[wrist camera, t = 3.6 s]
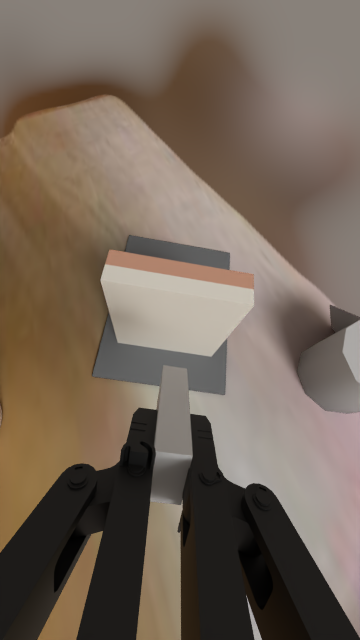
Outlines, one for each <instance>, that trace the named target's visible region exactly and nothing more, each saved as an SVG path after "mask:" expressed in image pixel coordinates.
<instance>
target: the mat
mask: <svg viewBox="0 0 360 640" xmlns="http://www.w3.org/2000/svg"><path fill="white" fill-rule="evenodd" d="M125 252H128V253H134V254H139V255H145V256H151V257H157V258H162V259H168V260H174V261H180V262H185V263H191V264H197V265H203V266H208V267H214V268H220V269H226V270H229V265H230V253H227V252H222V251H216V250H210V249H205V248H199V247H194V246H188V245H182V244H177V243H171V242H166V241H160V240H154V239H149V238H143V237H138V236H132V235H129V238H128V242H127V246H126V250H125ZM226 355H227V339H226V340H225V341H224V342H223V343H222V345H221V346H220V347H219V348H218V349H217V351H216V352H215V353H214V354H213V355H212V357H210V356H203V355H197V354H190V353H183V352H176V351H170V350H163V349H156V348H150V347H143V346H136V345H129V344H123V343H118V342H117V338H116V335H115V331H114V327H113V324H112V320H111V317H110V313H109V314H108V318H107V321H106V325H105V329H104V333H103V337H102V340H101V344H100V348H99V352H98V356H97V359H96V363H95V367H94V371H93V374H92V376H93V377H99V378H106V379H113V380H120V381H128V382H135V383H142V384H149V385H156V386H160V383H161V377H162V371H163V365H166V366H173V367H179V368H186V369H187V376H188V390H192V391H200V392H207V393H214V394H221V395H225V385H226Z"/></svg>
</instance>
